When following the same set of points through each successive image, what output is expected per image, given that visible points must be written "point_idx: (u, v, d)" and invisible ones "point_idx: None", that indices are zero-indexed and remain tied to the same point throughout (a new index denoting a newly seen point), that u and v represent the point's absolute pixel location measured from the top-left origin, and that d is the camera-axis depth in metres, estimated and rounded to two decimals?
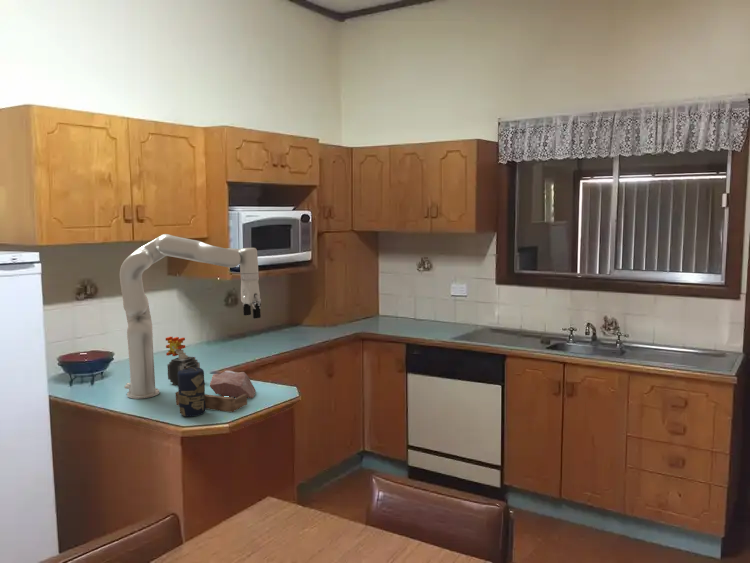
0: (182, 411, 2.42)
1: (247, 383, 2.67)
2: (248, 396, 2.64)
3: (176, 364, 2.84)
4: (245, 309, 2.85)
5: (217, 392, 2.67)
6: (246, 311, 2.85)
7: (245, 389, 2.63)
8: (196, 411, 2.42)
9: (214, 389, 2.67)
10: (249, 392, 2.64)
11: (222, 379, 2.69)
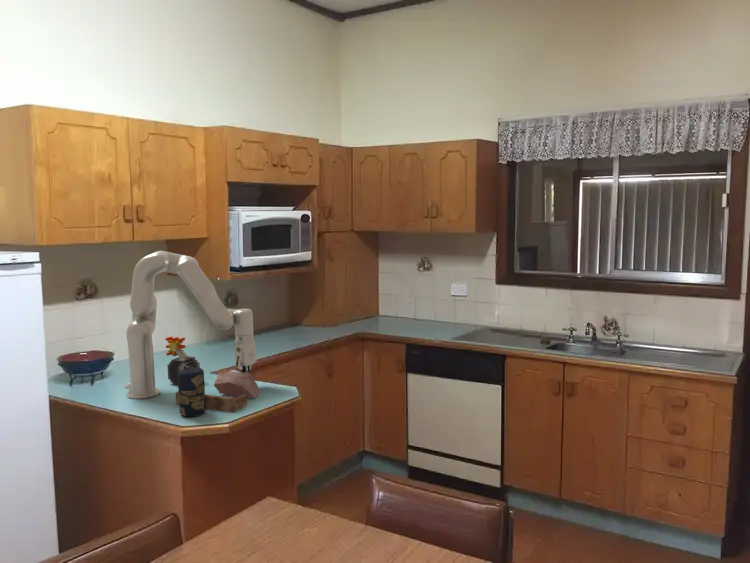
0: (182, 411, 2.42)
1: (250, 383, 2.66)
2: (251, 396, 2.63)
3: (176, 364, 2.84)
4: None
5: (221, 391, 2.68)
6: None
7: (248, 389, 2.62)
8: (196, 411, 2.42)
9: (218, 388, 2.68)
10: (252, 392, 2.63)
11: (226, 378, 2.69)
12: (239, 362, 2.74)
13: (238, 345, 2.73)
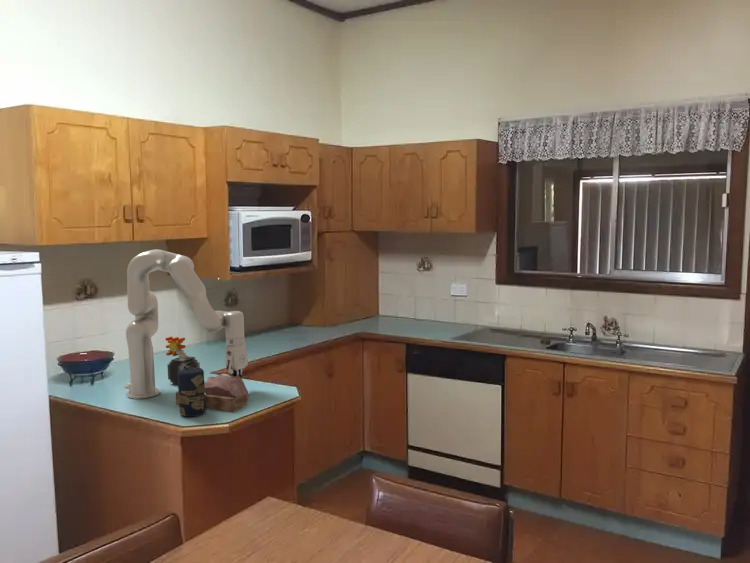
0: (182, 411, 2.42)
1: (238, 388, 2.59)
2: None
3: (176, 364, 2.84)
4: None
5: None
6: None
7: (235, 394, 2.55)
8: (196, 411, 2.42)
9: (206, 392, 2.62)
10: None
11: (215, 382, 2.63)
12: (230, 366, 2.67)
13: (229, 348, 2.67)
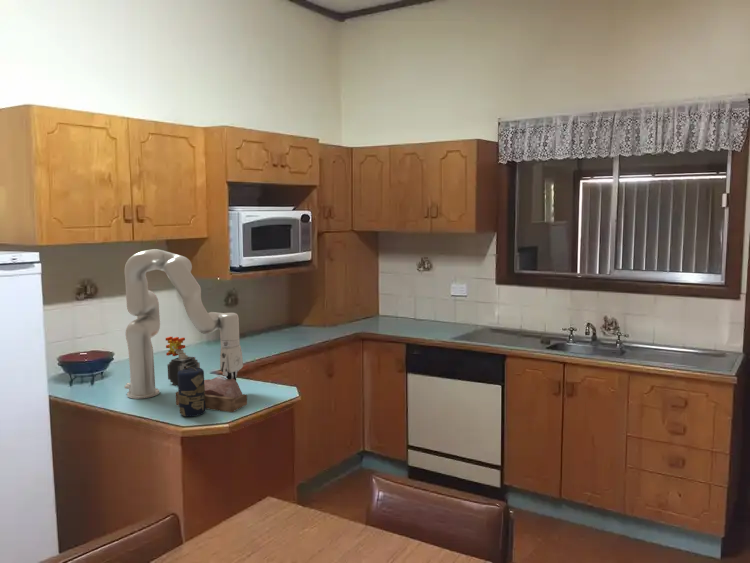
0: (182, 411, 2.42)
1: (233, 391, 2.55)
2: None
3: (176, 364, 2.84)
4: None
5: None
6: None
7: None
8: (196, 411, 2.42)
9: None
10: None
11: (210, 386, 2.60)
12: (224, 368, 2.64)
13: (223, 351, 2.63)
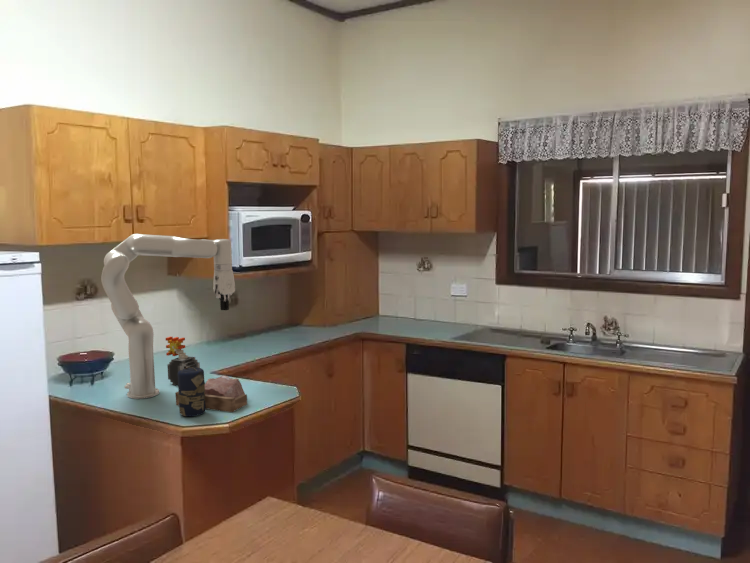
0: (182, 411, 2.42)
1: (233, 391, 2.55)
2: None
3: (176, 364, 2.84)
4: None
5: None
6: None
7: None
8: (196, 411, 2.42)
9: None
10: None
11: (213, 385, 2.61)
12: (217, 290, 2.80)
13: (216, 274, 2.79)
